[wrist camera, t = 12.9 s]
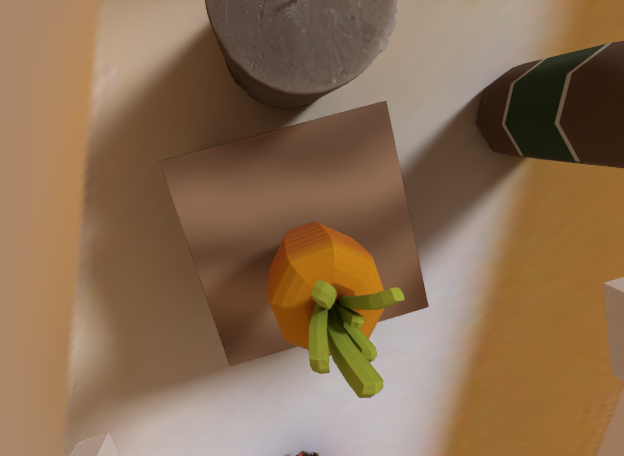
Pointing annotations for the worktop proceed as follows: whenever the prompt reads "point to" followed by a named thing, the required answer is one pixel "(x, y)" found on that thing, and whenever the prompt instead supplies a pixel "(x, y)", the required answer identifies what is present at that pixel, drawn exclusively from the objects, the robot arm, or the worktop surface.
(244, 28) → the pillar candle
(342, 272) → the carrot
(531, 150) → the beer bottle
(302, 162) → the walnut stool
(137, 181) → the worktop surface
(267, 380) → the worktop surface
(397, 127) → the worktop surface
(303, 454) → the dragon fruit
